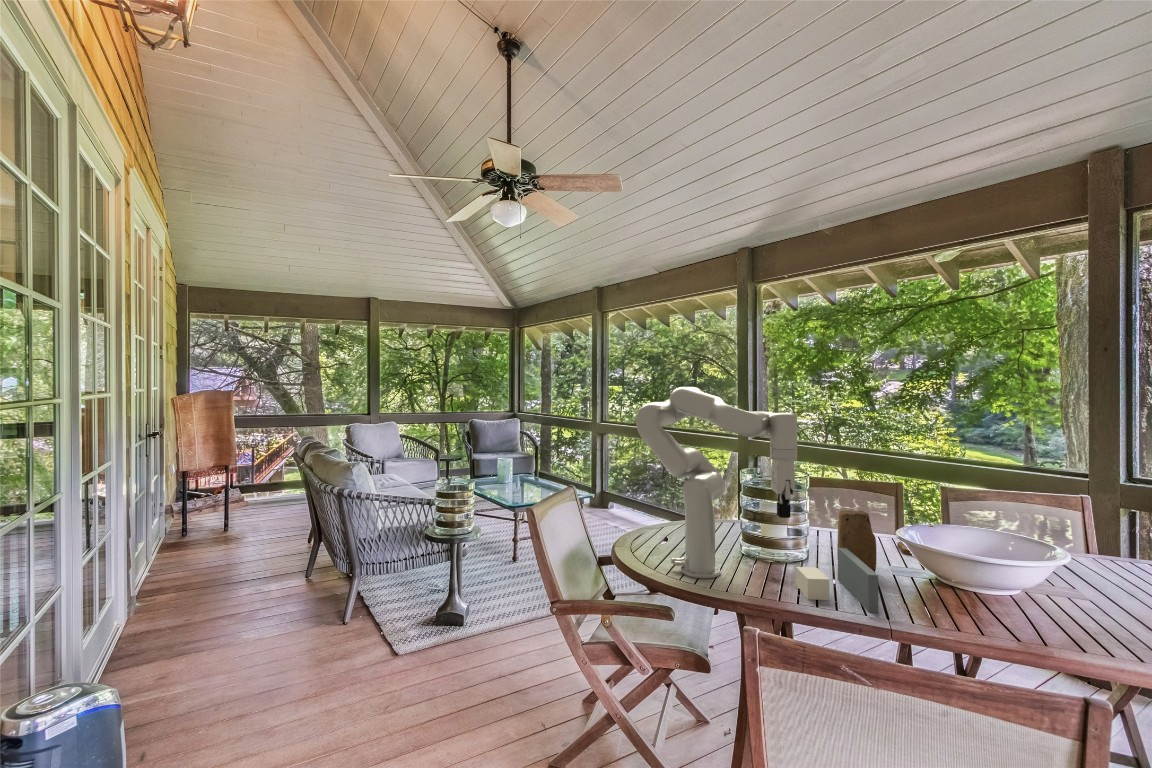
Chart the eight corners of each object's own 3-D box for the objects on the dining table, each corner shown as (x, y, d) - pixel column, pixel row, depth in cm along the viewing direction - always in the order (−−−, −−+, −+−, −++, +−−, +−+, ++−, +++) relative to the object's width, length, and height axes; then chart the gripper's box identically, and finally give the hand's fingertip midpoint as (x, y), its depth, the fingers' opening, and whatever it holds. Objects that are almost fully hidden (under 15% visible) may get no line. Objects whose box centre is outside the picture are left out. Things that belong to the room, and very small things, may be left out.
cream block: (807, 599, 152) (807, 578, 152) (795, 586, 162) (795, 566, 162) (829, 600, 152) (829, 579, 152) (816, 587, 162) (816, 567, 162)
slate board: (868, 612, 144) (868, 574, 144) (837, 579, 167) (837, 547, 167) (878, 612, 143) (878, 575, 143) (846, 580, 167) (846, 548, 167)
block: (839, 575, 171) (839, 512, 171) (836, 567, 178) (836, 507, 178) (878, 579, 168) (877, 515, 168) (873, 571, 175) (873, 510, 175)
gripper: (764, 451, 167) (764, 510, 166) (776, 457, 151) (776, 523, 151) (790, 451, 165) (790, 511, 165) (804, 458, 150) (804, 524, 150)
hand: (783, 516), depth 158 cm, fingers closed
